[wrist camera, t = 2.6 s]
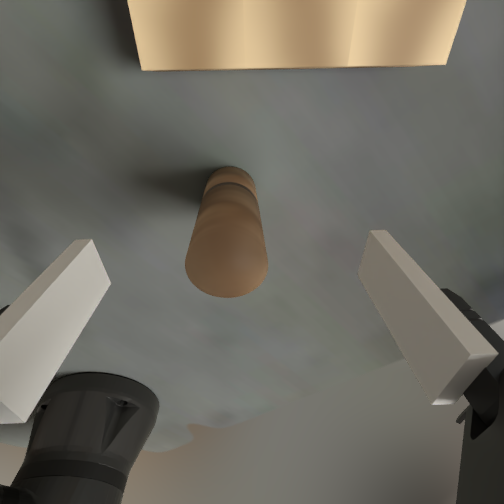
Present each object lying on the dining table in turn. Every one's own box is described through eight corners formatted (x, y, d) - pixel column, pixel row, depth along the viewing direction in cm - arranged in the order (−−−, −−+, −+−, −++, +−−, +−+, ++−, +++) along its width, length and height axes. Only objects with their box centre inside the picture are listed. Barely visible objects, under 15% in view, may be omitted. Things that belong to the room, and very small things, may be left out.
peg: (208, 215, 22) (191, 299, 14) (202, 167, 20) (178, 233, 11) (255, 213, 22) (267, 295, 14) (255, 165, 20) (269, 229, 12)
